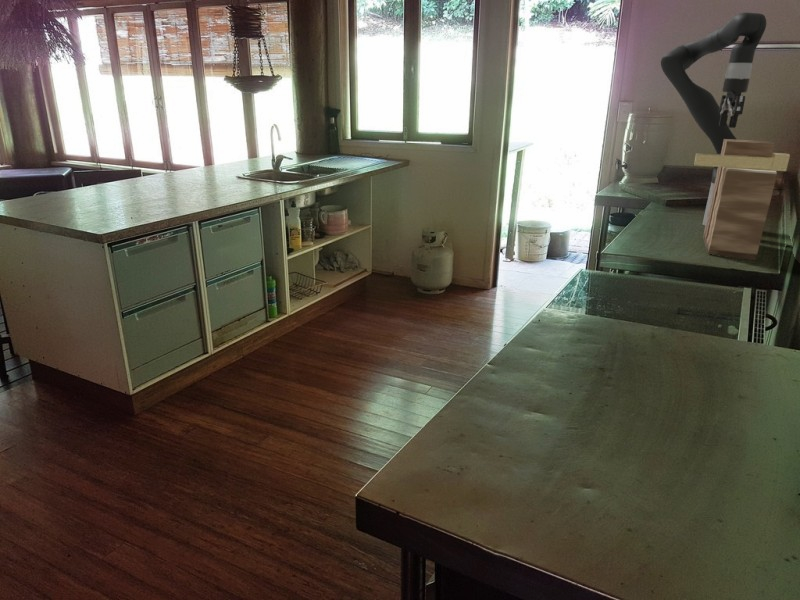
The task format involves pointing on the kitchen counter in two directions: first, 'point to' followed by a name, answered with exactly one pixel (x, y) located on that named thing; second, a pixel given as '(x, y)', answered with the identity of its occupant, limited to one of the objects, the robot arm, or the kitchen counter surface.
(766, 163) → the tan wooden bar
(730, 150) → the stepped wooden block
